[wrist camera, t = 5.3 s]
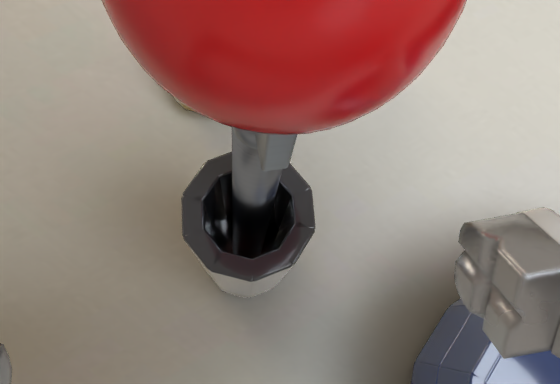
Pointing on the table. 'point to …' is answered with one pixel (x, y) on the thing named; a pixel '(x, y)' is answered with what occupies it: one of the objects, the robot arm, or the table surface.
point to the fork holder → (219, 234)
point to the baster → (280, 73)
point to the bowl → (476, 356)
